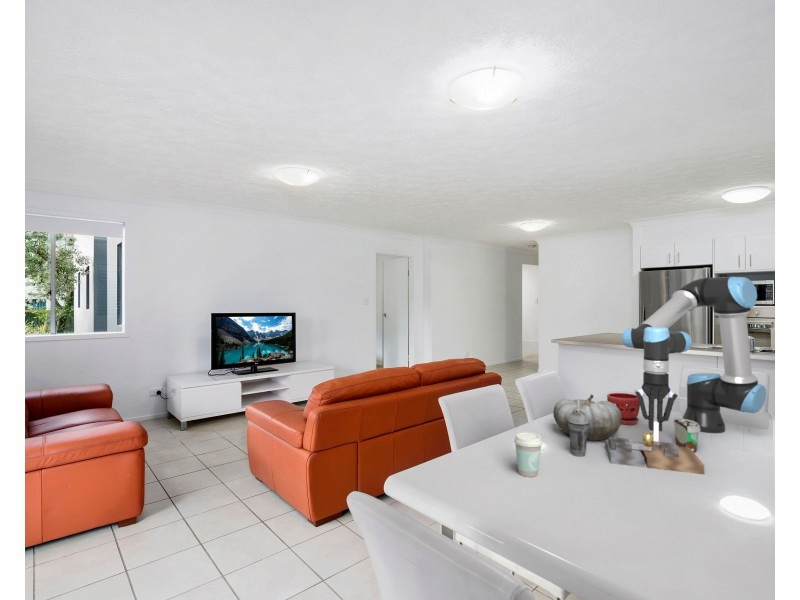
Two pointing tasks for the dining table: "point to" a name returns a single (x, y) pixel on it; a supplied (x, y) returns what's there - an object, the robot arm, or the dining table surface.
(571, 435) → the beverage cup
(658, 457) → the door board
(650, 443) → the bolt
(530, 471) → the coffee cup
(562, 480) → the dining table surface
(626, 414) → the plant pot
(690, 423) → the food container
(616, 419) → the gourd
